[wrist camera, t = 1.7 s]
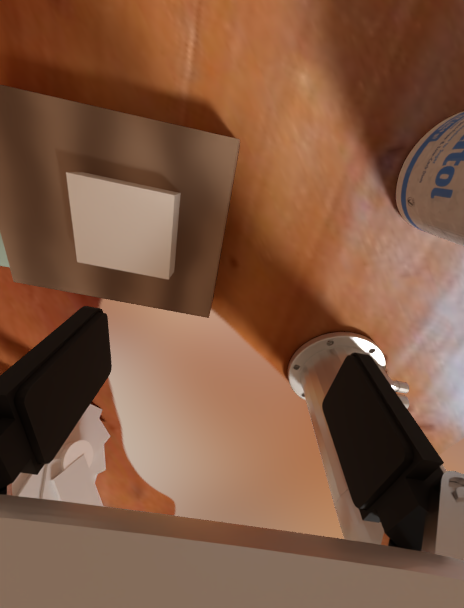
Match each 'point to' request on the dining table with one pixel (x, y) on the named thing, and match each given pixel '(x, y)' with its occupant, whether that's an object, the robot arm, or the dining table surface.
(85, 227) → the tile
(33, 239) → the board
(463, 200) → the supplement tub
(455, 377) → the dining table surface
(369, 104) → the dining table surface
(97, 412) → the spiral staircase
